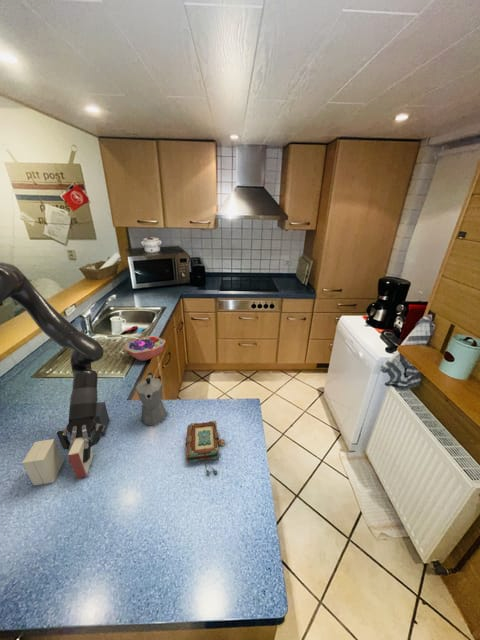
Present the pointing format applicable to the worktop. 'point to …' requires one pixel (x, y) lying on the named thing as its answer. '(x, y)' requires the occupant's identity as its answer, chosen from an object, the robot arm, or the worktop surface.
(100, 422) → the dark grey striped block
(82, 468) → the cream red flat block
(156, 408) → the coffeepot
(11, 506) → the worktop surface
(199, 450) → the decorative book
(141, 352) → the cell model
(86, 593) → the worktop surface
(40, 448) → the cream box
